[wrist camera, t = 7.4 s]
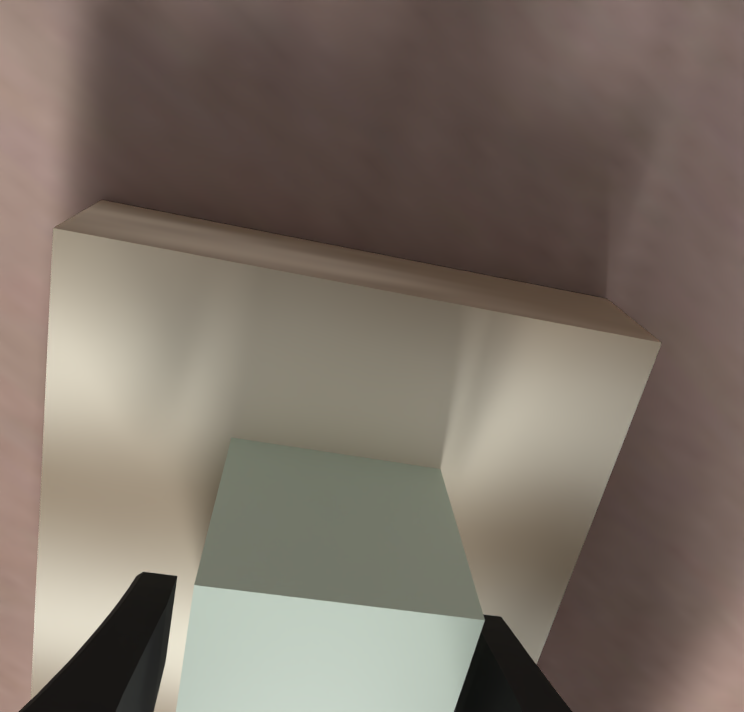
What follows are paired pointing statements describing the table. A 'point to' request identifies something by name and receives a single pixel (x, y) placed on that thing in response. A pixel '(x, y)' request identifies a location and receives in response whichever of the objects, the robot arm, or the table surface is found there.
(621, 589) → the table surface
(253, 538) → the green cube
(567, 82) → the table surface
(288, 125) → the table surface
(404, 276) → the birch block
